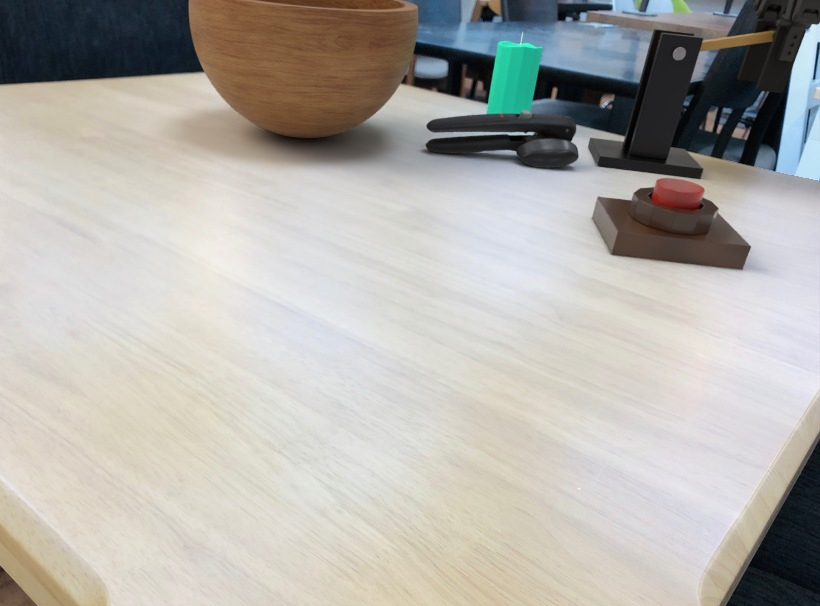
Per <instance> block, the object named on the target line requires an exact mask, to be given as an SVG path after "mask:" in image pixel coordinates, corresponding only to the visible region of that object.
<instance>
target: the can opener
mask: <svg viewBox="0 0 820 606" xmlns="http://www.w3.org/2000/svg"><path fill="white" fill-rule="evenodd" d="M425 127H426V129H427V130H428V131H430V132H431V133H495V134H481V135H464V136H463V135H461V136H447V137H437V138H435V137H434V138H431V139H429V140H428V141H427V142H426V143H425V148H426V149H427V150H429V152H432V153H438V154H439V153H440V154H473V153H483V152H492V151H493V152H495V151H512V152H516V153H515V154H516V156H517V157H518V158H519V159H520V160H521V161H522V163H524V164H525V165H528V166H530V167H534V168H560V167H564V166H568V165H571V164H574V163H575V162H576V161H578V160H579V158H580V157H579V156H580V155H579V150H578V146H577V145H576V144H575V143H574V142H572V141H573V139H574V137H575V135H576V133H577V122H576V121H575V119H574V118H573V117H571V116H569V115H563V114H562V115H560V114H548V113H547V114H545V113H532V111H527V110H522V111H521V113H520V114H513V113H512V114H506V113H501V114H486V113H483V114H481V113H480V114H468V115H459V116H458V115H457V116H447V117H441V118H435V119H432V120H429V121H428V122H427V124H426V125H425ZM496 133H501V134H496ZM508 133H511V134H508ZM512 133H524V134H515V135H514V134H512ZM528 133H532V134H528Z"/></svg>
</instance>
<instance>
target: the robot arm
mask: <svg viewBox="0 0 820 606" xmlns="http://www.w3.org/2000/svg"><path fill="white" fill-rule="evenodd" d="M752 11H753V12H755V18H756V21H755V24H754V27H753V29H752V33H759V32H762V31H763V29H764V28H765V27H766V26H768V25H774V26H778V27H777V29H776V32H775V35H774V38H773V41H772V42H765V43H758V44H751V45H747V47H746V50H745V54H744V56H743V59H742V62H741V65H740V68H739V70H738V74H737V77H736V80H739V81H747V82H756V83H757V84H756V86H755V90H757V91H760V92H769V93H777V94H783V93H784V91H785V88H786V86H787V83H788V81H789V79H790V78H789V77H790V75H791V72H792V69H793V68H794V65H795V61H796V59H797V56H798V54H799V51H800V48H801V45H802V43H803V40H804V37H805V35H806V33H807V31H808V30H810V28H811V27H812V25H814V26H815V25H816V26H818V25H819V24H820V0H755V1H754V3H753V6H752ZM752 33H751V34H752Z"/></svg>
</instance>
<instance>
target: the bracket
mask: <svg viewBox="0 0 820 606" xmlns="http://www.w3.org/2000/svg"><path fill="white" fill-rule="evenodd" d="M703 40H704V37H702V36H695V34H694V33H693V32H689V31H679V30H670V29H660V28H653V31H652V33H651V38H650V42H649V45H648V49H647V53H646V57H645V60H644V64H643V68H642V71H641V76H640V79H639V83H638V86H637V91H636V94H635V98H634V101H633V105H632V108H631V112H630V115H629V116H630V117H629V120H628V124H627V127H626V131H625V136H624V139H623V141H622V140H613V139H605V138H597V137H589V141H588V145H587V148H588V149H589V151H590V154H591V155H592V157H593V160H594V161H595V164H596V166H597V167H603V168H612V169H620V170H628V171H635V172H643V173H652V174H660V175H667V176H668V175H669V176H677V177H684V178H692V179H701V178H702V175H703V172H704V168H703V167H702V166H701V165H700V163H699V162H698V161H697V160H696V159H695V158H694V157H693V156H692V155H691V154H690V153H689V152H688V151H687V149H685V148H679V147H673V146H672V145H673V141H674V138H675V134H676V131H677V128H678V124H679V121H680V117H681V114H682V111H683V109H684V108H683V107H684V104H685V101H686V99H687V94H688V91H689V88H690V85H691V81H692V78H693V75H694V71H695V68H696V65H697V63H698V62H697V61H698V58H699V55H700V49H701V45H702V42H703Z"/></svg>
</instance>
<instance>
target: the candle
mask: <svg viewBox="0 0 820 606" xmlns="http://www.w3.org/2000/svg"><path fill="white" fill-rule="evenodd" d="M520 37H521V38H520V42H519V43H515V42H513V41H509V40H502V41H501V40H500V41H499V42H497V46H496V53H495V59H494V64H493V71H492V77H491V83H490V89H489V95H488V101H487V102H488V103H487V106H486V113H485V114H501V113H506V114H512V113H513V114H520V113H521V111H522V110H527V111H530V112H532V111H531V110H532V106H533V102H534V96H535V92H536V91H535V90H536V87H537V80H538V74H539V70H540V65H541V60H542V56H543V55H542V54H543V50H544V46H536V45H533V44H531V43H529V42H523V37H524V31H522V32H521V36H520ZM522 42H523V43H522Z"/></svg>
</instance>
